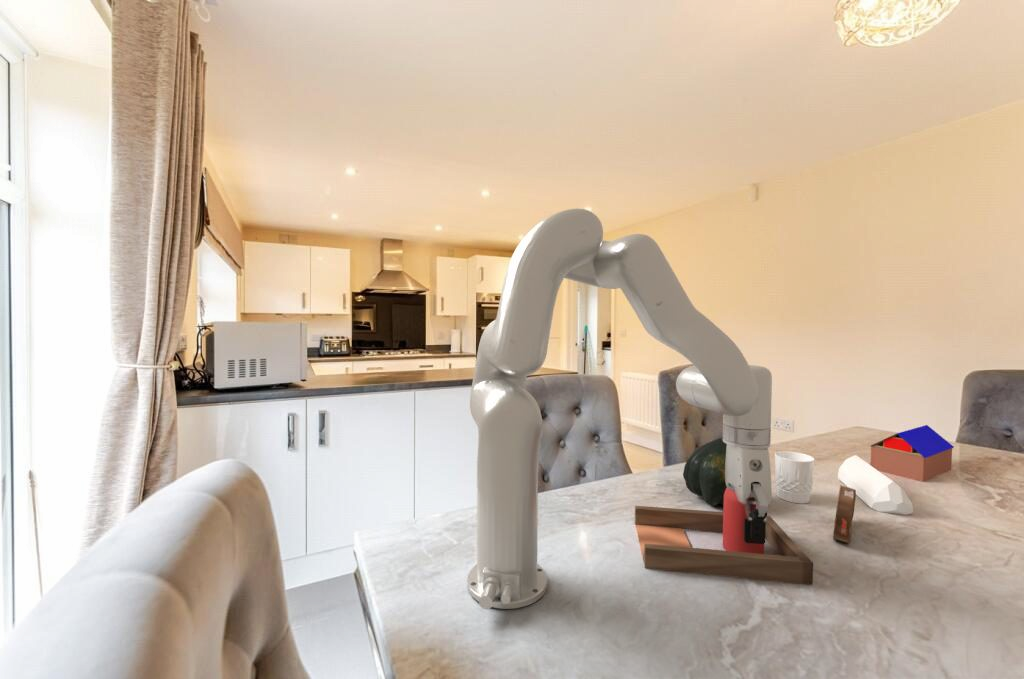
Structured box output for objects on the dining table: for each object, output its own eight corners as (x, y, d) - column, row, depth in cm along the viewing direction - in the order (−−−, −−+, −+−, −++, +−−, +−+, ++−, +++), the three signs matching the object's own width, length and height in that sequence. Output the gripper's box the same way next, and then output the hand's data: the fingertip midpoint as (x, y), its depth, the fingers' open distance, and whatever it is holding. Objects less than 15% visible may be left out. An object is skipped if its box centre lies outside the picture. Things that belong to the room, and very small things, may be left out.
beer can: (769, 564, 75) (771, 495, 74) (728, 559, 76) (729, 492, 75) (756, 544, 81) (758, 481, 81) (718, 541, 82) (719, 478, 82)
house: (868, 469, 123) (869, 428, 123) (899, 458, 133) (900, 420, 132) (923, 483, 113) (925, 438, 112) (953, 470, 123) (955, 429, 122)
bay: (812, 584, 69) (813, 563, 69) (645, 568, 73) (645, 547, 73) (768, 532, 86) (769, 515, 85) (634, 522, 90) (634, 505, 90)
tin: (836, 518, 92) (837, 479, 92) (855, 522, 90) (856, 482, 90) (831, 546, 81) (833, 501, 80) (853, 552, 79) (854, 506, 78)
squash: (676, 483, 97) (725, 436, 94) (668, 464, 111) (711, 423, 109) (727, 532, 94) (779, 484, 92) (712, 506, 109) (757, 464, 106)
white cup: (797, 491, 107) (799, 450, 106) (821, 504, 99) (823, 461, 98) (766, 491, 106) (767, 451, 106) (787, 505, 99) (789, 461, 98)
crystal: (930, 503, 91) (877, 466, 114) (894, 482, 93) (849, 450, 115) (906, 530, 92) (859, 489, 115) (872, 509, 94) (831, 473, 117)
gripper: (791, 450, 68) (788, 556, 69) (751, 424, 85) (749, 509, 86) (740, 448, 70) (737, 552, 71) (710, 422, 87) (709, 507, 88)
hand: (744, 528), depth 78 cm, fingers open, 9 cm apart
